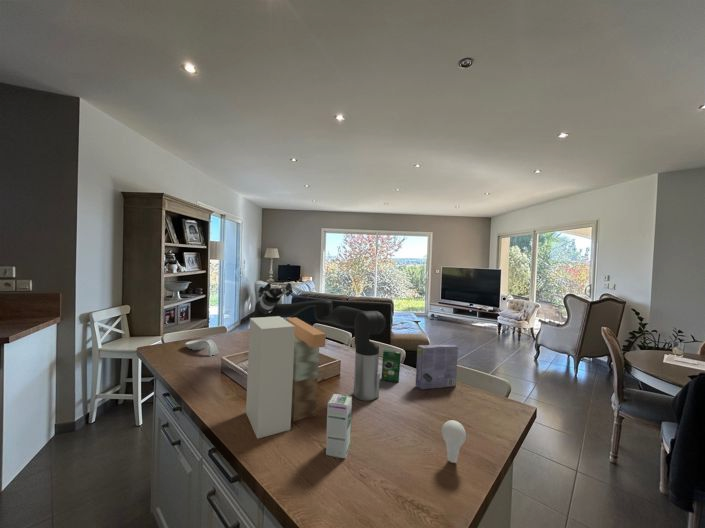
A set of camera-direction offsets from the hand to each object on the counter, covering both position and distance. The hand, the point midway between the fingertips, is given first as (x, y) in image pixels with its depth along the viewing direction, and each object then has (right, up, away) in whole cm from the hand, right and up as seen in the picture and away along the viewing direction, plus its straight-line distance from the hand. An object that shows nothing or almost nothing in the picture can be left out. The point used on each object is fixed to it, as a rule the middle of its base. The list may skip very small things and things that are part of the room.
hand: (279, 284), depth 125 cm
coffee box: (+48, -43, +6) cm, 65 cm away
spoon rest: (-50, -39, +34) cm, 72 cm away
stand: (+4, -42, -30) cm, 52 cm away
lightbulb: (+58, -45, -46) cm, 86 cm away
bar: (+14, -16, -24) cm, 33 cm away
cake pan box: (+68, -44, +3) cm, 81 cm away
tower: (+13, -42, -25) cm, 50 cm away
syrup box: (+27, -43, -43) cm, 67 cm away
